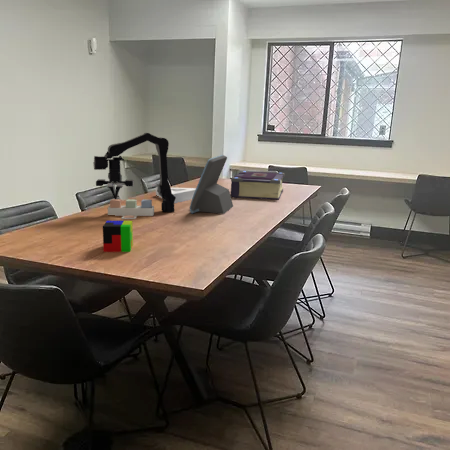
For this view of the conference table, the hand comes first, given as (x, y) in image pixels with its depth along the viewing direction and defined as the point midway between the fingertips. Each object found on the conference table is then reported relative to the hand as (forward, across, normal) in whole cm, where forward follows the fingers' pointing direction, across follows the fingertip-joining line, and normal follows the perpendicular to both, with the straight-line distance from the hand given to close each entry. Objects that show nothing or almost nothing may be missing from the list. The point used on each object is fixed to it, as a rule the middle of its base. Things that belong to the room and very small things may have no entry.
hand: (115, 199), depth 244 cm
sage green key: (+5, -8, 0) cm, 10 cm away
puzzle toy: (+8, -11, +65) cm, 66 cm away
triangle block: (+9, -27, -52) cm, 59 cm away
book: (+9, -86, -74) cm, 114 cm away
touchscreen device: (+8, -51, -17) cm, 55 cm away
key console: (+8, -8, 0) cm, 11 cm away
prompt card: (+8, -8, +8) cm, 14 cm away
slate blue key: (+5, -16, 0) cm, 17 cm away
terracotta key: (+5, 0, 0) cm, 5 cm away
